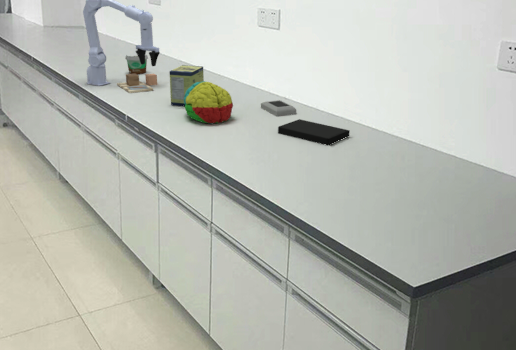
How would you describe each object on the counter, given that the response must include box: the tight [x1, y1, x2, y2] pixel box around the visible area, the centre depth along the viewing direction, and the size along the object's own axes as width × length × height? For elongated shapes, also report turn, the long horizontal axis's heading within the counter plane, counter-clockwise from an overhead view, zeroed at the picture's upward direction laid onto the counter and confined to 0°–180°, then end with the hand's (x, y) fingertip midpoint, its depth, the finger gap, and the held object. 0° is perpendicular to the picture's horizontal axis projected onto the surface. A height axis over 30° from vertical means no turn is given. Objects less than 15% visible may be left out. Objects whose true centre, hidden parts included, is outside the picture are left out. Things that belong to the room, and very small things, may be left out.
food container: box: [125, 54, 149, 76], centre depth 330 cm, size 12×6×10 cm, turn 105°
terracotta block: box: [144, 73, 158, 87], centre depth 307 cm, size 4×4×5 cm
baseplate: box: [116, 73, 154, 94], centre depth 299 cm, size 20×12×6 cm, turn 30°
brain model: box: [184, 80, 234, 124], centre depth 248 cm, size 24×19×15 cm
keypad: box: [260, 99, 297, 117], centre depth 261 cm, size 10×4×15 cm
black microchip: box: [277, 118, 350, 146], centre depth 229 cm, size 14×23×3 cm, turn 51°
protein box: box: [169, 64, 205, 107], centre depth 271 cm, size 10×16×16 cm
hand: (148, 65), depth 302 cm, fingers open, 7 cm apart
